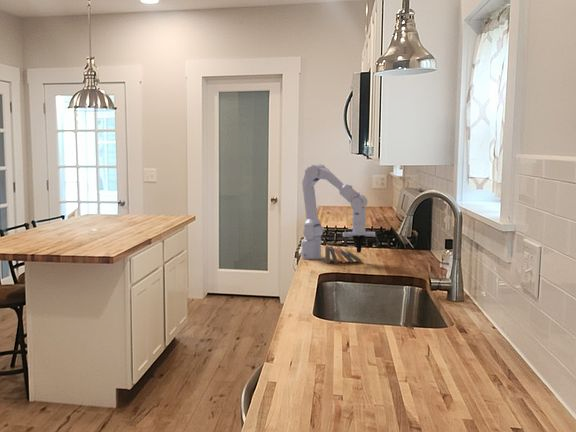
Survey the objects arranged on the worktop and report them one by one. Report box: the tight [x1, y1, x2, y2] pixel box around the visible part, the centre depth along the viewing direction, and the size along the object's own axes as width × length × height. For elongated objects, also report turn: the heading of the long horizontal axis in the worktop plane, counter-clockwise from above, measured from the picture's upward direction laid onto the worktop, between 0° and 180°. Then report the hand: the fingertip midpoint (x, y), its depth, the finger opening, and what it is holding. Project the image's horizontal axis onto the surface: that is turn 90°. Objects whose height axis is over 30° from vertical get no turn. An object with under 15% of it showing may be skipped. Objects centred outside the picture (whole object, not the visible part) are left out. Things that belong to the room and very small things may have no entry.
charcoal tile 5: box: [324, 245, 331, 265], centre depth 225 cm, size 2×5×7 cm, turn 2°
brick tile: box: [333, 246, 346, 264], centre depth 225 cm, size 2×5×7 cm
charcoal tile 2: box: [338, 248, 354, 264], centre depth 225 cm, size 2×5×7 cm
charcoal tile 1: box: [344, 250, 362, 264], centre depth 225 cm, size 2×5×7 cm
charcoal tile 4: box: [329, 245, 339, 264], centre depth 225 cm, size 2×5×7 cm, turn 2°
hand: (358, 252), depth 225 cm, fingers closed
